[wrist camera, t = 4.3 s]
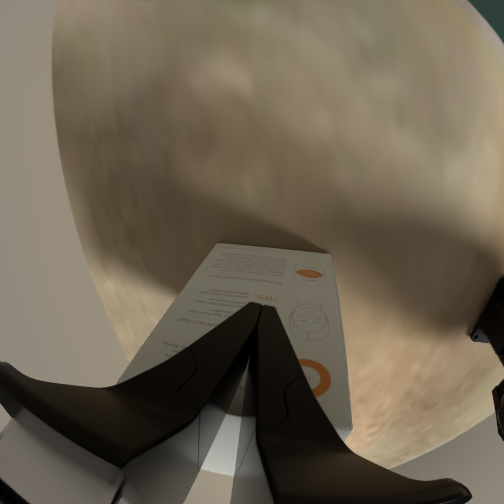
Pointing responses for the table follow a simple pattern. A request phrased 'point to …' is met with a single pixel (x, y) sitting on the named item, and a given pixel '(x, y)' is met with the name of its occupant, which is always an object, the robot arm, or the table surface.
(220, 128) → the table surface
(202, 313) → the small box
